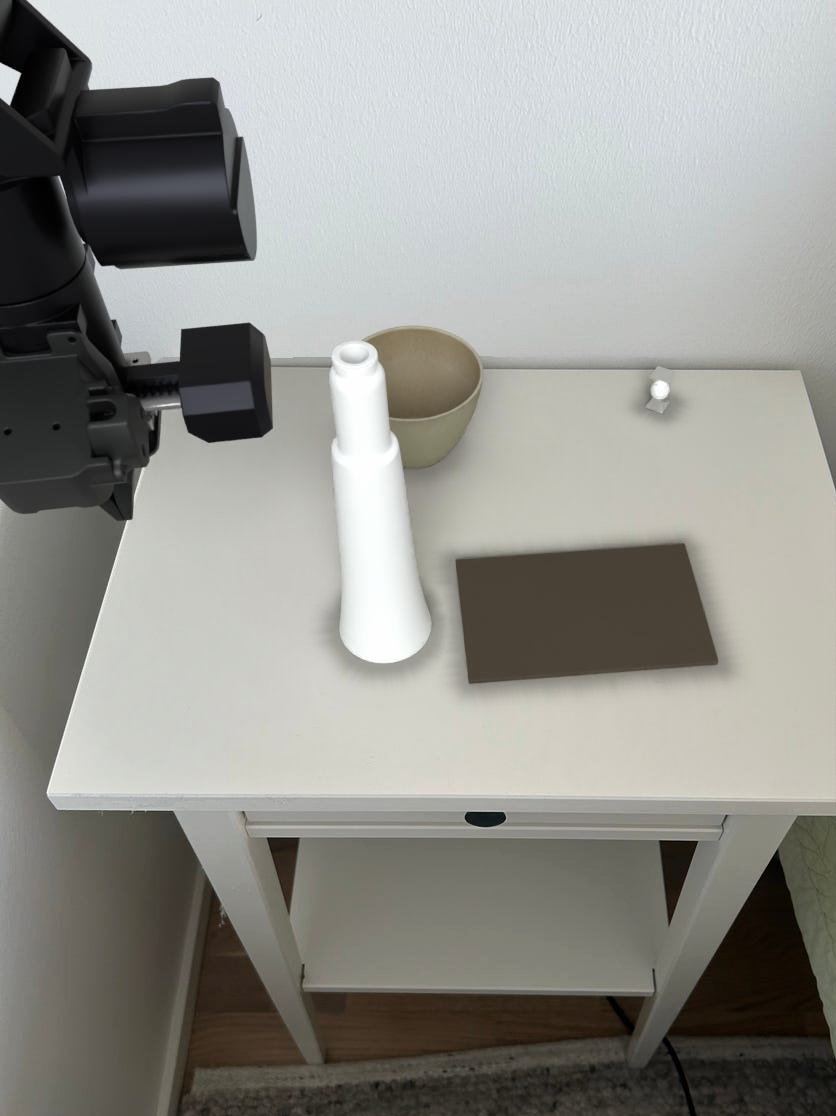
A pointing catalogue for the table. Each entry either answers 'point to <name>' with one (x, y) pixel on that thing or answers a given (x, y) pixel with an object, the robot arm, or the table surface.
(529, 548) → the table surface
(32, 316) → the robot arm
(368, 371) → the cosmetic bottle
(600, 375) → the table surface
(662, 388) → the wrapped candy
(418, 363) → the bowl
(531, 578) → the mat
